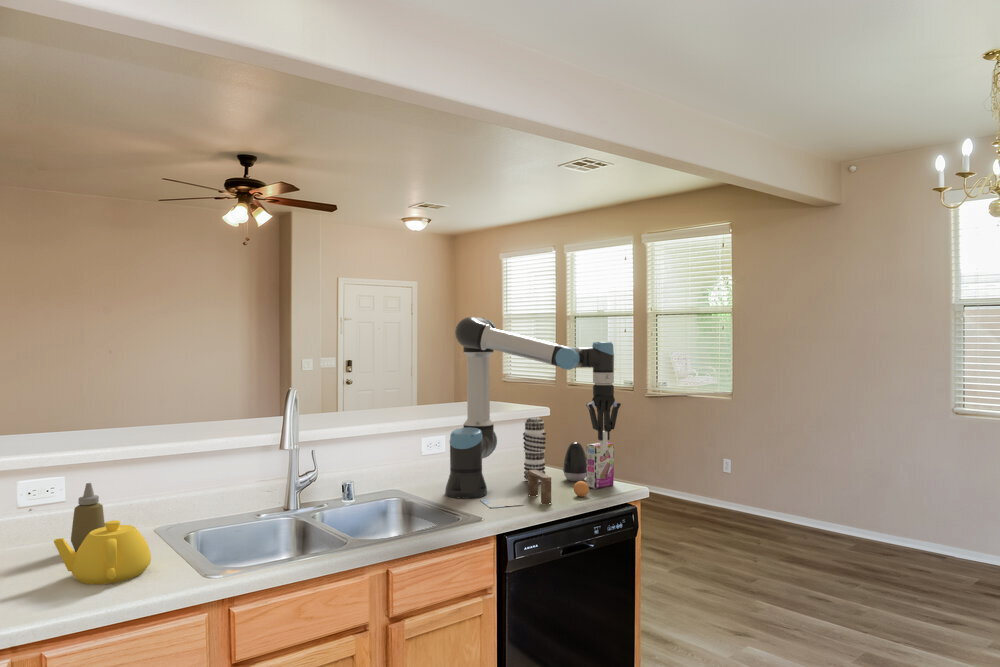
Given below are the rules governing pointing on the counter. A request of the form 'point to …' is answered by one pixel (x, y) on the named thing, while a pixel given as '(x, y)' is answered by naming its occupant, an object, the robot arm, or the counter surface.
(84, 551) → the teapot
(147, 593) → the counter surface
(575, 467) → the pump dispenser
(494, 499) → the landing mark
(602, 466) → the candy bar box
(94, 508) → the squeeze bottle
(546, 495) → the bridge
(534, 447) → the decorative candle
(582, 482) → the ball
